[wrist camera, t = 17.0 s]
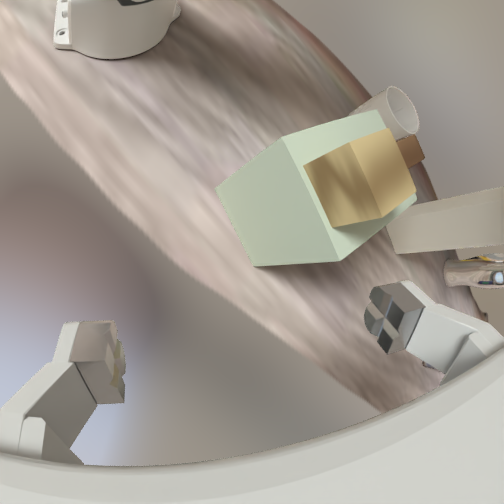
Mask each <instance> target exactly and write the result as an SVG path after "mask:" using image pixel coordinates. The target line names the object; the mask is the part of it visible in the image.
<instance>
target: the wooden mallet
mask: <svg viewBox="0 0 504 504" xmlns="http://www.w3.org/2000/svg"><path fill="white" fill-rule="evenodd" d="M424 158H425V156H424V154H423V152H422V149H421V147H420V145H419V142H418V140H417V138H416V136H415V134H414V135H412V136H409V137H407V138H404V139H402V140H399V141H397V142H396V141H395V139H394V137H393V135H392V133H391V131H390V129H389V128H386V129H383V130H380V131H378V132H375V133H372V134H369V135H367V136H364V137H361V138H359V139H356V140H353V141H351V142H348V143H346V144H344V145H342V146H340V147H338V148H336V149H334V150H332V151H330V152H328V153H326V154H324V155H322V156H320V157H319V158H317V159H315V160H313V161H311V162H309V163H307V164H305V165H303V167H304V169H305V171H306V173H307V175H308V178H309V180H310V182H311V184H312V186H313V188H314V190H315V192H316V194H317V196H318V198H319V201H320V203H321V205H322V207H323V209H324V211H325V214H326V216H327V218H328V220H329V223H330V225H331V227H332V228H333V227H338V226H343V225H348V224H353V223H358V222H363V221H368V220H373V219H378V218H382V217H384V216H385V215H386V214H388V213H389V212H390V211H392V210H393V209H394V208H396V207H397V206H398V205H400V204H401V203H402V202H403V201H405V200H406V199H407V198H409V197H410V196H411V195H412V194H414V193H415V192H416V188H415V185H414V183H413V180H412V178H411V175H410V173H409V171H408V168H410V167H412V166H413V165H415V164H416V163H418V162H420V161H421V160H423V159H424Z"/></svg>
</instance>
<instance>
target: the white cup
mask: <svg viewBox="0 0 504 504" xmlns="http://www.w3.org/2000/svg"><path fill="white" fill-rule="evenodd" d="M375 109H377V110H378V112H379V114H380V116H381V118H382V120H383V122H384V124H385V126H386V128H389V129H390V131H391V133H392V135H393V137H394V139H395V140H398V139H401V138H404V137H407V136H410V135H413V134H415V133H417V132H418V130H419V118H418V114H417V112H416V109H415V107H414V105H413V103H412V102H411V100H410V99H409V98H408V96H407V95H406V94H405V93H404V92H403V91H402V90H400V89H399V88H397V87H395V86H390V87H388V88H386V89H385V90H383V91H382V92H380V93H379V94H377V95H375V96H374V97H372V98H371V99H369V100H368V101H366V102H365V103H364V104H362V105H361V106H359V107H358V108H357V109H356V110H354V111H352V112H351V113H349V114H348V116H352V115H356V114H359V113H363V112H367V111H371V110H375ZM348 116H347V117H348Z"/></svg>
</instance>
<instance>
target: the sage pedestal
mask: <svg viewBox="0 0 504 504" xmlns="http://www.w3.org/2000/svg"><path fill="white" fill-rule="evenodd" d="M383 129H386V126H385V124H384V122H383V120H382V118H381V116H380V114H379V112H378V110H377V109H375V110H371V111H367V112H363V113H359V114H356V115H352V116H348V117H345V118H341V119H338V120H334V121H331V122H327V123H324V124H321V125H317V126H314V127H311V128H308V129H305V130H301V131H298V132H295V133H292V134H289V135H286V136H283V137H281V138H280V139H278V140H277V141H275V142H274V143H273V144H271V145H270V146H269V147H267V148H266V149H265V150H263V151H262V152H261V153H259V154H258V155H257V156H256V157H254V158H253V159H252V160H250V161H249V162H248V163H246V164H245V165H244V166H243V167H241V168H240V169H239V170H237V171H236V172H235V173H234V174H232V175H231V176H230V177H229V178H227V179H226V180H225V181H224V182H222V183H221V184H220V185H219V186H217V187H216V188H215V191H216V193H217V195H218V197H219V199H220V201H221V203H222V205H223V207H224V209H225V211H226V213H227V215H228V217H229V219H230V221H231V223H232V225H233V227H234V229H235V231H236V233H237V235H238V237H239V239H240V241H241V243H242V245H243V247H244V249H245V251H246V253H247V255H248V257H249V259H250V261H251V263H252V265H253V266H270V265H287V264H303V263H319V262H335V261H341V260H342V259H344V258H345V257H346V256H347V255H349V254H350V253H351V252H353V251H354V250H355V249H357V248H358V247H359V246H361V245H362V244H363V243H364V242H366V241H367V240H368V239H370V238H371V237H372V236H373V235H375V234H376V233H377V232H378V231H380V230H381V229H382V228H383V227H385V226H386V225H387V224H388V223H390V222H391V221H392V220H393V219H395V218H396V217H397V216H398V215H400V214H401V213H402V212H403V211H404V210H406V209H407V208H408V207H409V206H411V205H412V204H413V203H414V202H415V201H417V197H416V194H415V193H414V194H412V195H411V196H410V197H409V198H407V199H406V200H405V201H403V202H402V203H401V204H400V205H398V206H397V207H396V208H394V209H393V210H392V211H390V212H389V213H388V214H386V215H385V216H384V217H382V218H378V219H373V220H368V221H363V222H358V223H353V224H348V225H343V226H338V227H333V228H332V227H331V225H330V223H329V220H328V218H327V216H326V214H325V211H324V209H323V207H322V205H321V203H320V201H319V198H318V196H317V194H316V192H315V190H314V188H313V186H312V184H311V182H310V180H309V178H308V175H307V173H306V171H305V169H304V167H303V165H305V164H307V163H309V162H311V161H313V160H315V159H317V158H319V157H320V156H322V155H324V154H326V153H328V152H330V151H332V150H334V149H336V148H338V147H340V146H342V145H344V144H346V143H348V142H351V141H353V140H356V139H359V138H361V137H364V136H367V135H369V134H372V133H375V132H378V131H380V130H383Z"/></svg>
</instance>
